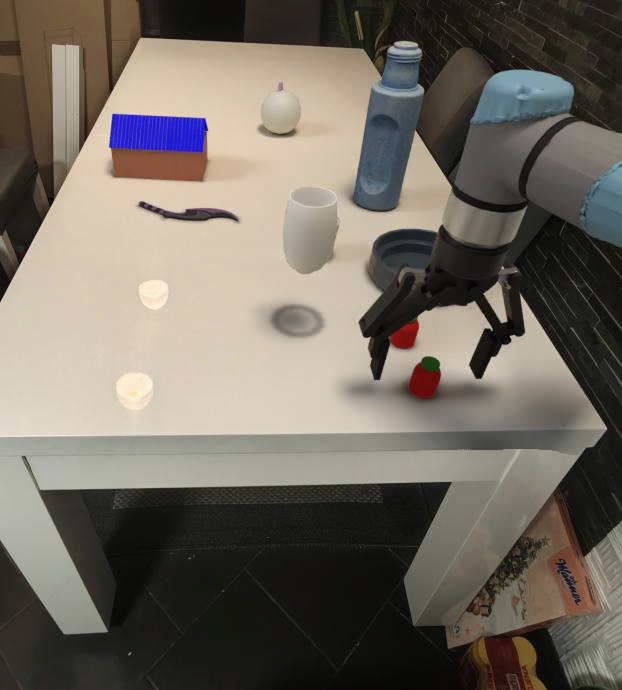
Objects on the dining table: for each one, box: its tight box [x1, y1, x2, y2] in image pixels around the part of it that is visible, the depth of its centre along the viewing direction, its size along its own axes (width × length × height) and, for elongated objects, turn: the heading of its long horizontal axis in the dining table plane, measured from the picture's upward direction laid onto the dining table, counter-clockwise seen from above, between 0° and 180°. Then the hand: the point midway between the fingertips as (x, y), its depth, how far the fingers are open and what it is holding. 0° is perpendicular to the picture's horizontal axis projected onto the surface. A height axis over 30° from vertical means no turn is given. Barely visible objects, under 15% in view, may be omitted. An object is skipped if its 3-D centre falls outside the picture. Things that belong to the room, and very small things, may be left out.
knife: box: [138, 200, 239, 222], centre depth 109 cm, size 21×1×5 cm
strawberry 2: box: [407, 355, 442, 399], centre depth 73 cm, size 4×4×5 cm
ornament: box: [260, 81, 302, 135], centre depth 140 cm, size 10×10×12 cm
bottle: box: [352, 40, 425, 212], centre depth 106 cm, size 10×10×30 cm
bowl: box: [367, 228, 438, 300], centre depth 93 cm, size 17×17×4 cm
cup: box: [282, 185, 338, 275], centre depth 78 cm, size 7×7×21 cm
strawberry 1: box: [389, 316, 420, 350], centre depth 80 cm, size 4×4×5 cm
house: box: [108, 113, 209, 182], centre depth 121 cm, size 12×20×12 cm, turn 87°
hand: (425, 372), depth 73 cm, fingers open, 13 cm apart
